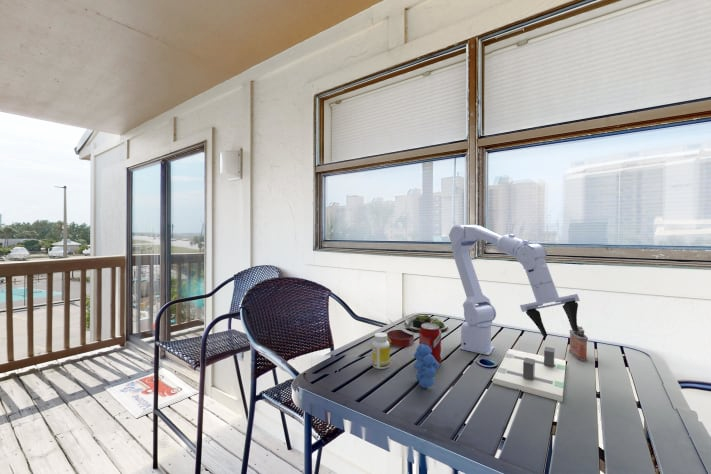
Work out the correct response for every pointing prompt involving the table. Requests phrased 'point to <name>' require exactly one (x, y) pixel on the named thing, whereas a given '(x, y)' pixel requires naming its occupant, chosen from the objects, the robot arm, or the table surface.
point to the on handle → (549, 356)
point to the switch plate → (545, 378)
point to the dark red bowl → (400, 337)
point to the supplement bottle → (380, 351)
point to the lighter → (578, 344)
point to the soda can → (431, 339)
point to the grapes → (425, 365)
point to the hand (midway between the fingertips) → (560, 333)
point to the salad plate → (418, 320)
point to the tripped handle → (529, 368)
